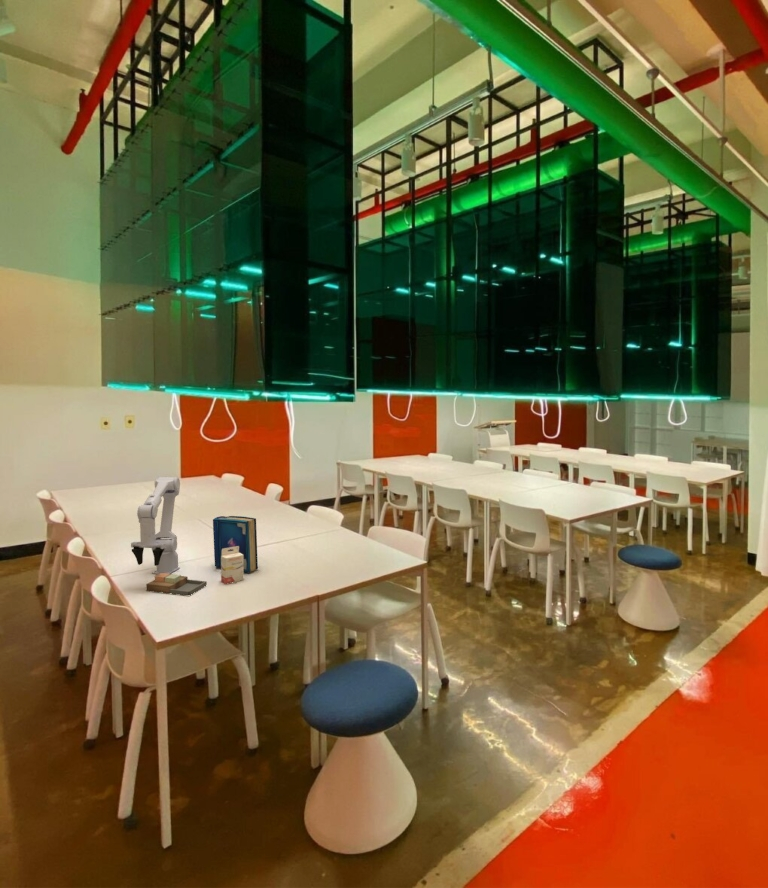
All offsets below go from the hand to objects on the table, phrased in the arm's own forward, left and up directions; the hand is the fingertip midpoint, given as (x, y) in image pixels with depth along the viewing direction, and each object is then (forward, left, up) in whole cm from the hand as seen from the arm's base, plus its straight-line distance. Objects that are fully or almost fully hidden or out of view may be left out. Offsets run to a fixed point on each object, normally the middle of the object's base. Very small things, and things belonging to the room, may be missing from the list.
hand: (148, 564), depth 208 cm
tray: (-2, +18, -10) cm, 21 cm away
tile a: (-2, +5, -7) cm, 9 cm away
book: (-30, +23, -10) cm, 39 cm away
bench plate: (-2, +8, -10) cm, 12 cm away
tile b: (-2, +10, -7) cm, 13 cm away
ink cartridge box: (-16, +30, -10) cm, 36 cm away
